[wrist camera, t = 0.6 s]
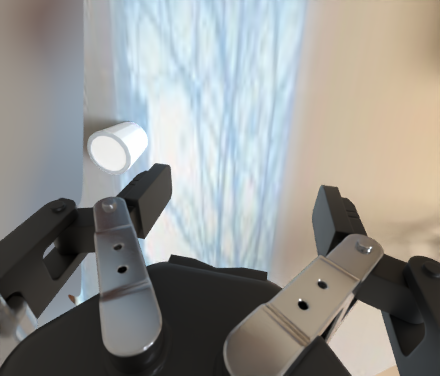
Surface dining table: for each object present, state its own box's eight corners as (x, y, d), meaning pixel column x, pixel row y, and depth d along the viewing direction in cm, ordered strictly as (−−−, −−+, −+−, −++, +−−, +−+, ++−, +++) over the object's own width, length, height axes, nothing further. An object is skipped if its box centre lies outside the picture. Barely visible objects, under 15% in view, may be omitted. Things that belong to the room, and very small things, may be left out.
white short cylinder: (155, 129, 41) (135, 144, 35) (146, 163, 45) (125, 182, 39) (116, 110, 41) (88, 122, 35) (110, 146, 44) (84, 163, 38)
